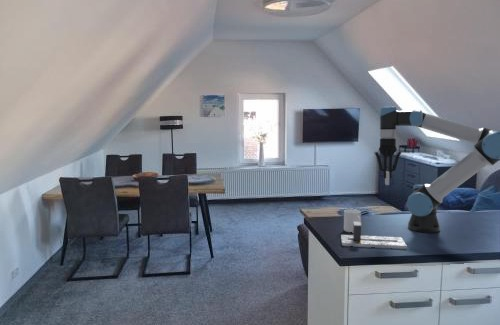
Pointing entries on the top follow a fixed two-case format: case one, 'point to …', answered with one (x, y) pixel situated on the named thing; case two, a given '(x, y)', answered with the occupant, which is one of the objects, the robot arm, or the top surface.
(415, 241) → the top surface
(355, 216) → the mug
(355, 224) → the fader tab
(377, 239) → the fader console
